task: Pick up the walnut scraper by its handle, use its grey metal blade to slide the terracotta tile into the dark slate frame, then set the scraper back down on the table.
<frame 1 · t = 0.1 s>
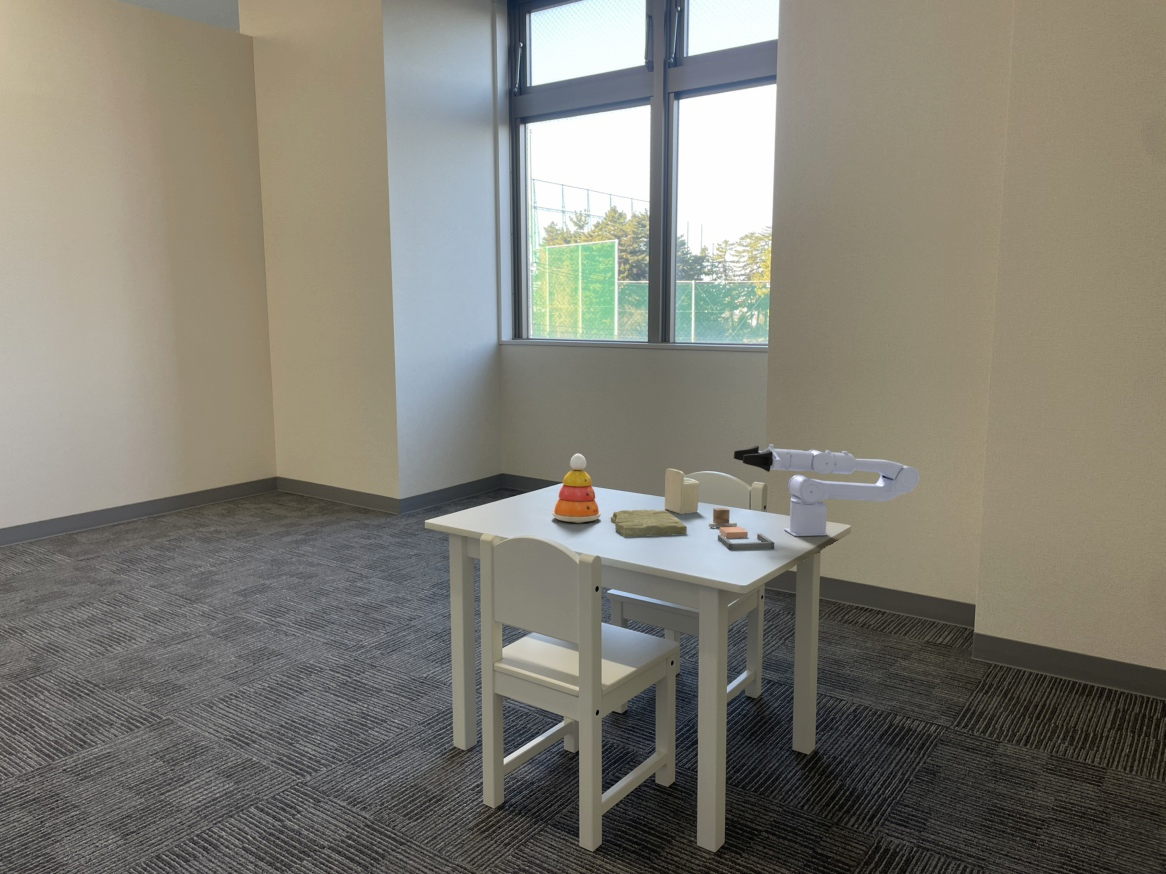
hand: (738, 457, 234), 22 cm above the table, tool horizontal, fingers open, 7 cm apart
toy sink: (681, 511, 267), on the table
walnut scraper: (721, 526, 248), on the table
decorative tile: (645, 529, 246), on the table
terracotta tile: (733, 536, 237), on the table
stacking toy: (576, 520, 255), on the table
slate frame: (745, 544, 227), on the table
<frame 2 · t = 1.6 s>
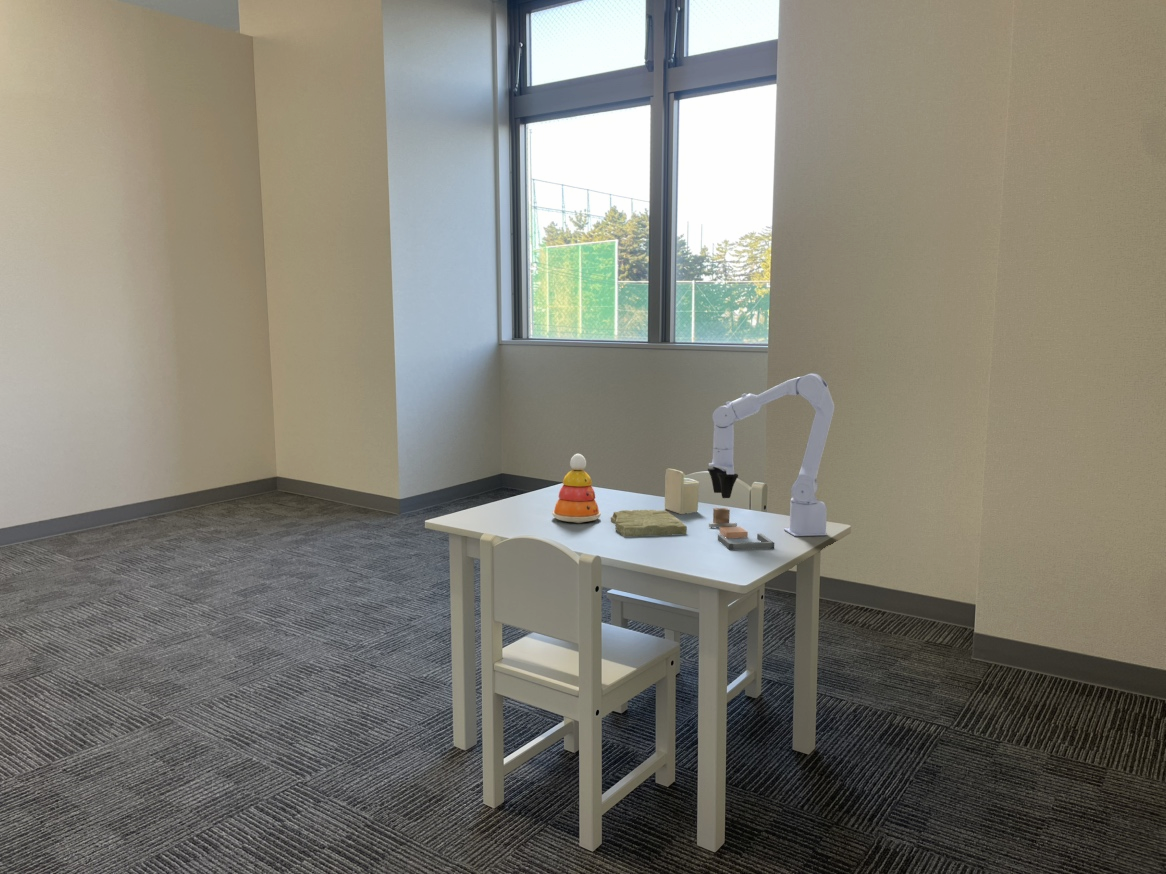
hand: (721, 495, 247), 9 cm above the table, tool pointing down, fingers open, 7 cm apart
nothing on the table moved.
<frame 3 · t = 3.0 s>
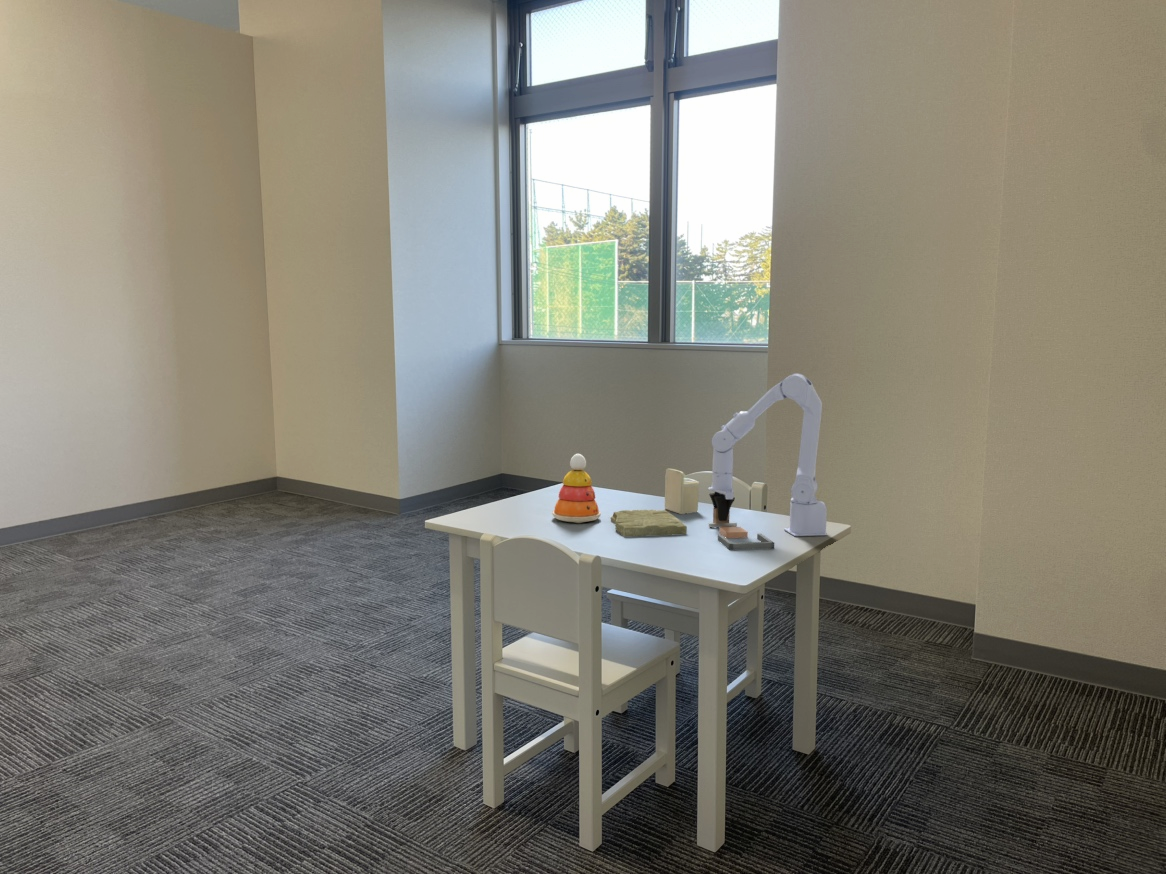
hand: (721, 519, 247), 2 cm above the table, tool pointing down, fingers closed on walnut scraper, 2 cm apart
walnut scraper: (721, 525, 248), on the table, touching gripper
everything else where it was.
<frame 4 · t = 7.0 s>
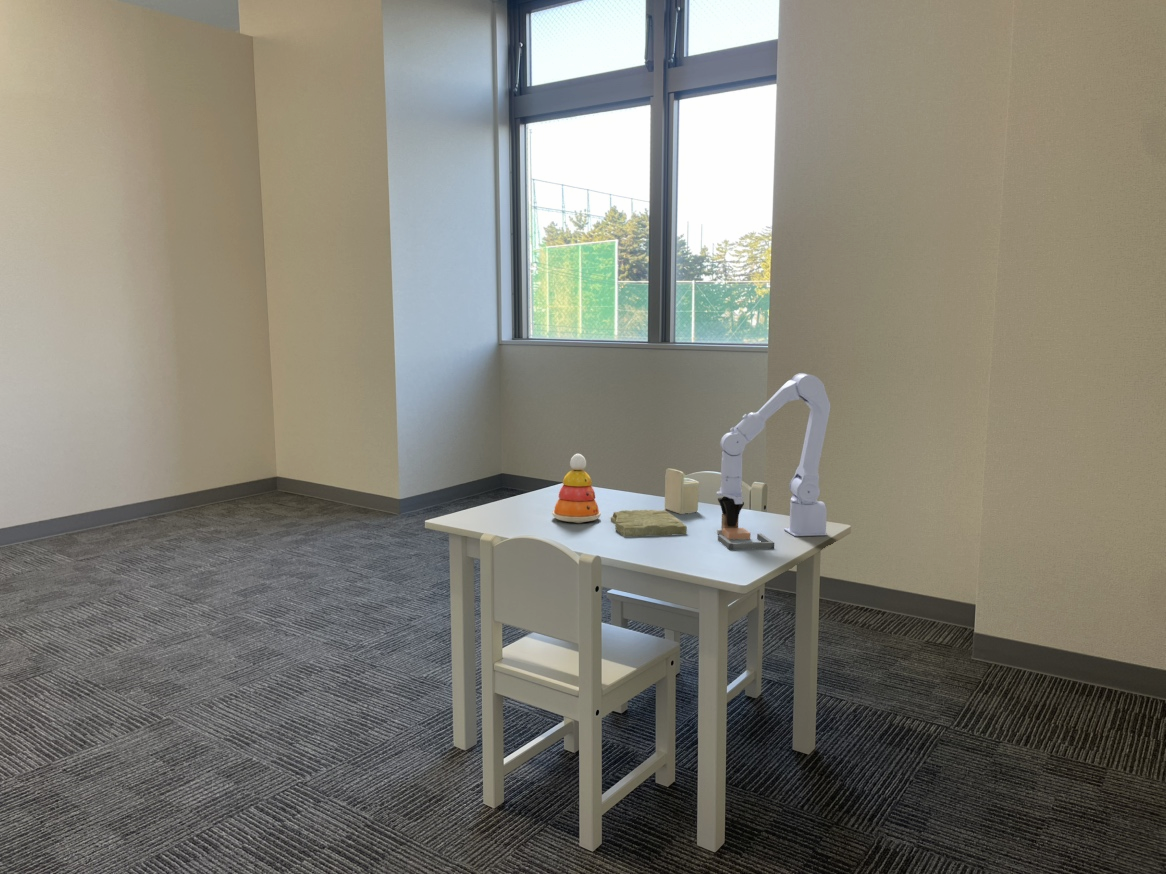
hand: (730, 524, 240), 2 cm above the table, tool pointing down, fingers closed on walnut scraper, 2 cm apart
walnut scraper: (729, 532, 240), on the table, touching gripper, terracotta tile
terracotta tile: (735, 537, 235), on the table, touching walnut scraper
everything else where it was.
when the fingers open (3 cm above the table, at t = 12.7 s): walnut scraper stays where it is, on the table.
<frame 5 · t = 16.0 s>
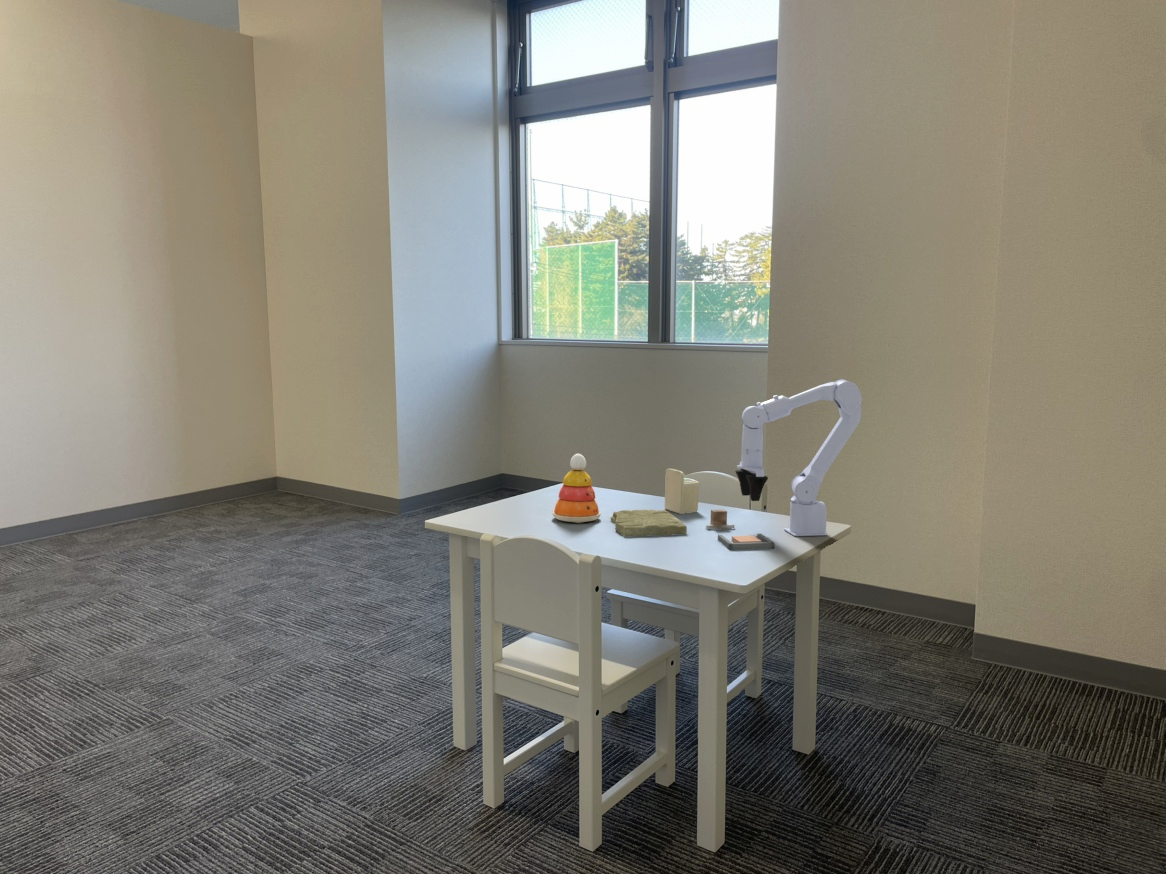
hand: (750, 498, 241), 9 cm above the table, tool pointing down, fingers open, 7 cm apart
walnut scraper: (718, 527, 246), on the table
terracotta tile: (746, 546, 227), on the table
everything else where it was.
at the end: terracotta tile inside the target area on the slate frame (0.3 cm from its centre), point -0.5 cm above the slate frame's base; the gripper is holding nothing; walnut scraper on the table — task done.
